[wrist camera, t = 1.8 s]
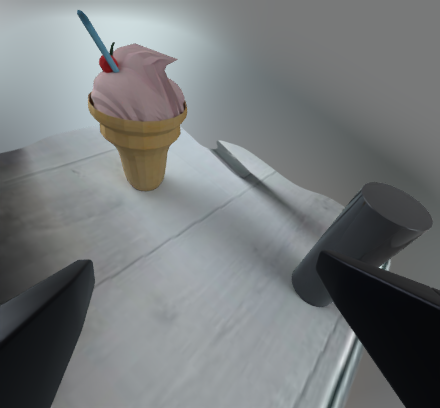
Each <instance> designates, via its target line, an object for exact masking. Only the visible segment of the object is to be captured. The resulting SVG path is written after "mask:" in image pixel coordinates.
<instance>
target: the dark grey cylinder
mask: <svg viewBox="0 0 440 408" xmlns="http://www.w3.org/2000/svg"><path fill="white" fill-rule="evenodd" d="M432 224H433V220H432V218H431V215H430V214H429V212H428V211H427V210H426V208H425V207H424V206H423V205H422V204H421V203H419V202H418V201H417V200H416V199H414V198H413V197H412V196H410V195H409V194H407V193H405V192H404V191H402V190H400V189H397V188H395V187H393V186H390V185H387V184H383V183H377V182H370V183H367V184H365V185H363V187H362V188H361V189H360V190H359V191H358V193H357V194H356V195H355V196H354V198H353V199H352V200H351V201H350V202H349V204H348V205H347V206H346V207H345V209H344V210H343V211H342V212H341V213H340V215H339V216H338V217H337V218H336V220H335V221H334V222H333V223H332V224H331V226H330V227H329V228H328V229H327V231H326V232H325V233H324V234H323V235H322V237H321V238H320V239H319V240H318V242H317V243H316V244H315V245H314V246H313V248H312V249H311V250H310V251H309V253H308V254H307V255H306V256H305V257H304V259H303V260H302V261H301V262H300V264H299V265H298V266H297V267H296V268H295V270H294V271H293V273H292V284H293V287H294V289H295V291H296V292H297V294H298V295H299V296H300V297H301V298H302V299H303V300H304V301H305V302H307V303H309V304H311V305H313V306H316V307H325V306H328V305H329V304H331V303H332V302H333V300H332V299H331V297H330V295H329V293H328V291H327V290H326V288H325V286H324V284H323V283H322V281H321V279H320V277H319V276H318V274H317V272H316V263H317V260H318V256H319V253H320V251H322V250H332V251H335V252H338V253H340V254H343V255H346V256H348V257H351V258H354V259H356V260H359V261H362V262H364V263H367V264H370V265H373V266H375V267H380V266H381V265H382V264H384V263H385V262H386V261H388V260H389V259H390V258H392V257H393V256H394V255H396V254H397V253H398V252H400V251H401V250H402V249H404V248H405V247H406V246H408V245H409V244H410V243H412V242H413V241H414V240H416V239H417V238H418V237H420V236H421V235H422V234H423V233H425V232H426V231H428V230H429V229H430V228H431V227H432Z"/></svg>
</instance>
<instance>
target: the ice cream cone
mask: <svg viewBox="0 0 440 408" xmlns="http://www.w3.org/2000/svg"><path fill="white" fill-rule="evenodd" d="M77 14H78V16H79V18H80V19H81V21H82V23H83V24H84V26H85V27H86V29H87V31H88V32H89V34H90V35H91V37H92V38H93V40H94V41H95V43H96V45H97V46H98V48H99V50H100V51H101V53H102V54H103V55H102V56H101V58H100V60H99V65H100V67H101V68H102V70H103V72H101V73H99V74H98V76H97V77H96V78H95V79H94V85H93V90H92V92H91V93H90V94H89V95H88V108H89V111H90V113H91V114H92V116H93V117H94V118H95V119H96V120H97V121H98V122H99V123H100V132H101V134H102V135H103V136H104V137H105V139H106V140H108V141H109V142H111V143H112V144H113V145H114V146H115V147H116V148H117V150H118V152H119V155H120V158H121V162H122V165H123V169H124V172H125V175H126V178H127V180H128V181H129V183H130V184H131V185H132V186H133V187H134V188H136V189H137V190H141V191H151V190H154V189H156V188H157V187H158V186H159V185H160V184H161V182H162V180H163V179H164V174H165V168H166V160H167V152H168V149H169V146H170V145H171V144H172V143H173V142H175V141H176V140H177V138H178V137H179V135H180V124H181V123H182V122H183V121H184V119H185V118H186V115H187V107H186V102H185V100H184V95H183V93H182V90H181V89H180V88H179V86H178V85H177V84H176V83H174V81H172V80H171V79H169V78H167V75H166V73H165V71H164V70H165V68H166V65H168V64H170V63H172V62H174V61H176V60H177V59H175V58H173V57H170V56H167V55H164V54H162V53H159V52H157V51H154V50H151V49H148V48H146V47H143V46H140V45H138V44H131V45H127V46H124V47H120V48H117V49H116V50H115V51H114V52H113V46H114V42H113V43H112V45H111V49H110V53H109V52H108V51H107V49H106V47H105V46H104V44H103V42H102V41H101V39H100V37H99V36H98V34H97V32H96V31H95V29H94V27H93V26H92V24H91V22H90V21H89V19H88V17H87V16H86V15H85V14H84V13H83V12H82V11H80V10H78V11H77Z"/></svg>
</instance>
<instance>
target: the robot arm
mask: <svg viewBox="0 0 440 408" xmlns="http://www.w3.org/2000/svg"><path fill="white" fill-rule="evenodd" d="M316 272H317V274H318V276H319V277H320V279H321V281H322V283H323V284H324V286H325V288H326V290H327V291H328V293H329V295H330V297H331V299H332V300H333V302H334V304H335V305H336V307H337V308H338V310H339V311H340V312H341V314H342V315H343V317H344V318H345V320H346V321H347V323H348V324H349V326H350V327H351V329H352V330H353V331H354V333H355V334H356V336H357V337H358V339H359V340H360V342H361V343H362V345H363V346H364V347H365V349H366V350H367V352H368V353H369V355H370V356H371V358H372V359H373V361H374V362H375V363H376V365H377V366H378V368H379V369H380V371H381V372H382V374H383V375H384V377H385V378H386V380H387V381H388V382H389V384H390V385H391V387H392V388H393V390H394V391H395V393H396V394H397V396H398V397H399V399H400V400H401V401H402V403H403V404H404V406H405V407H406V408H440V290H437V289H434V288H430V287H429V286H426V285H424V284H421V283H418V282H415V281H413V280H410V279H408V278H405V277H402V276H399V275H397V274H394V273H391V272H389V271H386V270H383V269H381V268H378V267H375V266H373V265H370V264H367V263H364V262H362V261H359V260H356V259H354V258H351V257H348V256H346V255H343V254H340V253H338V252H335V251H332V250H322V251H320V253H319V256H318V260H317V263H316ZM94 284H95V277H94V269H93V262H92V261H91V260H77V261H76V262H74V263H72V264H70V265H69V266H67V267H65V268H64V269H62V270H60V271H59V272H57V273H55V274H53V275H52V276H50V277H48V278H47V279H45V280H43V281H42V282H40V283H38V284H36V285H35V286H33V287H31V288H30V289H28V290H26V291H25V292H23V293H21V294H19V295H18V296H16V297H14V298H13V299H11V300H9V301H8V302H6V303H4V304H2V305H1V306H0V408H50V407H51V405H52V402H53V400H54V398H55V395H56V393H57V390H58V388H59V385H60V383H61V380H62V378H63V375H64V373H65V370H66V368H67V366H68V363H69V361H70V358H71V356H72V353H73V351H74V348H75V346H76V343H77V341H78V338H79V336H80V333H81V331H82V328H83V324H84V321H85V317H86V314H87V310H88V307H89V303H90V299H91V296H92V292H93V289H94Z"/></svg>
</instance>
